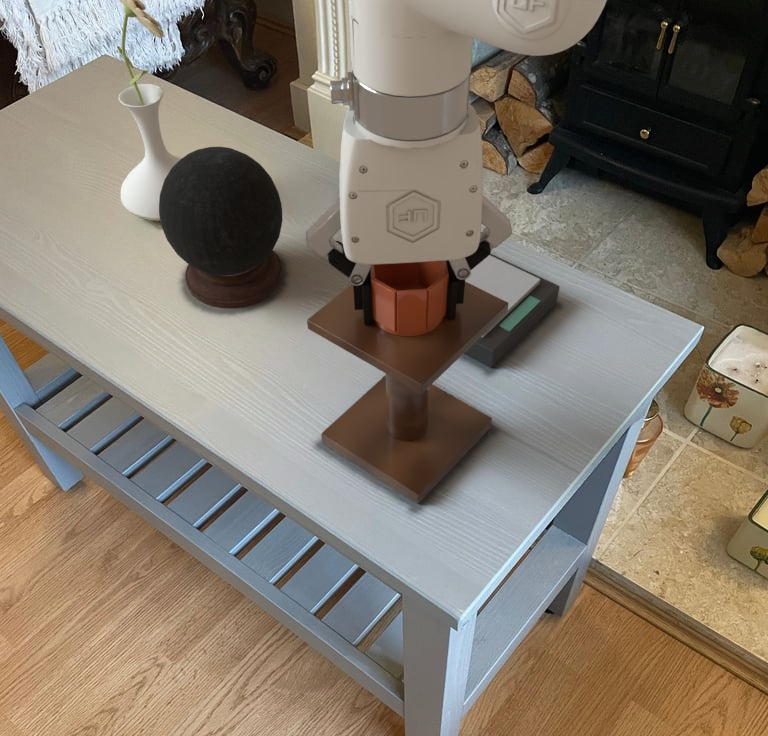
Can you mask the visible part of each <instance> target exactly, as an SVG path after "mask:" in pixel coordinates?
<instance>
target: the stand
mask: <svg viewBox="0 0 768 736" xmlns="http://www.w3.org/2000/svg"><path fill="white" fill-rule="evenodd" d="M508 304H509V303H508V302H506V301H504V300H502V299H500V298H498V297H496V296H494V295H492V294H490V293H488V292H486V291H484V290H482V289H480V288H478V287H476V286H474V285H472V284H470V283H468V282H466V281H465V289H464V301H463V304H456V316H455V319H452V320H449V319H448V318H446V315H445V316H444V318H443V320H442V322H441V323H440V324H439V325H438V326H437V327H436V328H435V329H433V330H432V331H430V332H428V333H425V334H422V335H418V336H398V335H394V334H391V333H388V332H386V331H384V330H383V329H381V328H380V327H379V326H378V325H377V324H376V323H375V321H374V319H373V323H370V324H368V325H364V316H363V310H355V307H354V292H353V285H352V284H351V283H350V284H349V285H348V286H346V288H344V289H343V290H342V291H340V293H338V294H337V295H335V297H333V298H332V299H331V300H330V301H329V302H327V303H326V304H325V305H323V306H322V307H321V308H320V309H318V310H317V311H316V312H315V313H314V314H312V315H311V316H310V317H308V318H307V319H306V325H307V329H308V330H309V331H312V333H314V334H316V335H318V336H320V337H321V338H323V339H325V340H327V341H329V342H330V343H332V344H334V345H335V346H337V347H339V348H341V349H343V350H344V351H346V352H348V353H349V354H351V355H353V356H354V357H356V358H359V359H360V360H361V361H364V362H365V363H367V364H369V365H370V366H372V367H374V368H376V369H378V370H379V371H381V372H382V373H384V374H385V375H384V376H383V377H382V378H381V379H379V380H378V381H377V382H376V383H375V384H374V385H373V386H372V387H371V388H369V390H367V391H366V392H365V393H364V394H363V395H362V396H361V397H360V398H358V399H357V400H356V401H355V402H354V403H353V404H352V405H351V406H350V407H349V408H348V409H346V410H345V412H343V413H342V414H341V415H340V416H339V417H337V419H336V420H335V421H333V422H332V423H331V424H330V425H329V426H327V428H325V429H324V430H323V431H322V432H321V433H320V436H321V443H322V445H324V446H325V447H327V448H329V449H331V451H333V452H335V453H337V454H338V455H340V456H342V457H343V458H344V459H346V460H348V461H349V462H351V463H352V464H354V465H355V466H357V467H359V468H360V469H362V470H364V471H365V472H367V473H368V474H369V475H371V476H373V477H375V478H376V479H377V480H379V481H380V482H382V483H383V484H385V485H387V486H388V487H390V488H391V489H393V490H395V491H396V492H397V493H399V494H401V495H403V496H404V497H406V498H407V499H409V500H411V501H412V502H413V503H415V504H417V505H418V504H420V503H421V502H422V501H423V500H424V499H425V498H426V496H428V495H429V494H430V493H431V491H432V490H433V489H434V488H435V487H436V486H437V485H438V484H439V483H440V482H441V481H442V480H443V478H445V477H446V476H447V475H448V473H449V472H450V471H451V470H452V469H453V468H454V467H455V466H456V465H457V464H458V463H459V462H460V461H461V460H462V459H463V458H464V456H465V455H466V454H467V453H468V452H470V451H471V449H472V448H473V447H474V446H475V445H476V444H477V443H478V442H479V441H480V439H482V438H483V436H485V435H486V434H487V432H488V431H489V430H490V429H491V428H492V421H493V418H492V417H491V416H489V415H488V414H486V413H484V412H482V411H481V410H479V409H477V408H475V407H474V406H472V405H470V404H468V403H466V402H465V401H463V400H460V399H459V398H457V397H456V396H454V395H452V394H450V393H449V392H447V391H445V390H443V389H442V388H439V387H438V386H436V385H434V383H435V382H436V381H437V380H438V379H439V378H440V377H441V376H442V375H444V373H445V372H446V371H447V370H448V369H449V368H451V366H452V365H454V363H455V362H457V361H458V360H460V358H461V357H462V356H463V355H464V353H465V352H466V351H467V350H468V349H469V348H470V347H471V346H472V345H473V344H474V343H475V342H476V341H477V340H478V339H479V338H480V337H482V336H483V335H484V334H485V333H486V332H487V331H488V330H489V329H490V328H491V327H492V326H493V325H494V324H495V323H496V322H497V321H498V320H499V319H500V318H501V317H502V316H503V315H505V314H506V313H507V311H508Z"/></svg>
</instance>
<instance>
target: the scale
mask: <svg viewBox="0 0 768 736" xmlns="http://www.w3.org/2000/svg"><path fill="white" fill-rule="evenodd" d="M465 281H466V282H468V283H470V284H472V285H474V286H476V287H478V288H480V289H482V290H484V291H486V292H488V293H490V294H492V295H494V296H496V297H498V298H500V299H502V300H504V301H506V302H508V303H509V304H508V311H507V313H506V314H505V315H503V316H502V317H501V318H500V319H499V320H498V321H497V322H496V323H495V324H494V325H493V326H492V327H491V328H490V329H489V330H488V331H487V332H486V333H485V334H484V335H483V336H482V337H480V338H479V339H478V340H477V341H476V342H475V343H474V344H473V345H472V346H471V347H470V348H469V349H468V350H467V351H466V352H465V353H464V354H465V355H466V356H469V357H470V358H471V359H473V360H475V361H477V362H479V363H481V364H482V365H484V366H487V367H488V368H490V369H492V368H493V367H494V366H495V365H496V364H497V363H498V362H499V361H500V360H501V359H502V358H503V357H504V356H505V355H506V354H507V353H508V352H509V351H510V350H511V349H512V348H513V347H514V346H515V345H516V344H517V343H518V342H519V341H520V340H521V339H522V338H523V337H524V336H525V335H526V334H528V332H529V331H530V330H531V329H532V328H533V327H534V326H535V325H536V324H537V323H538V322H539V321H540V320H541V319H542V318H543V317H544V316H545V315H546V314H547V313H548V312H549V311H550V310H551V309H552V308H553V307H554V306H555V305H556V304H557V303H558V302H557V301H558V298H559V292H560V288H561V286H560V285H558V284H556V283H554V282H552V281H550V280H548V279H545V278H543V277H541V276H539V275H537V274H535V273H533V272H531V271H529V270H526V269H524V268H523V267H520V266H518V265H516V264H513V263H512V262H509V261H508V260H505V259H503V258H501V257H499V256H497V255H495V254H493V253H492V252H491V253H490V255H489V256H488V257H487V258H485V259H484V260H483V261H482V262H480V263H479V264H478V265H477V266H476V267H474V268H473V269H472V270H471V275H470V277H468V278H467V279H465ZM464 354H463V355H464Z"/></svg>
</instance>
